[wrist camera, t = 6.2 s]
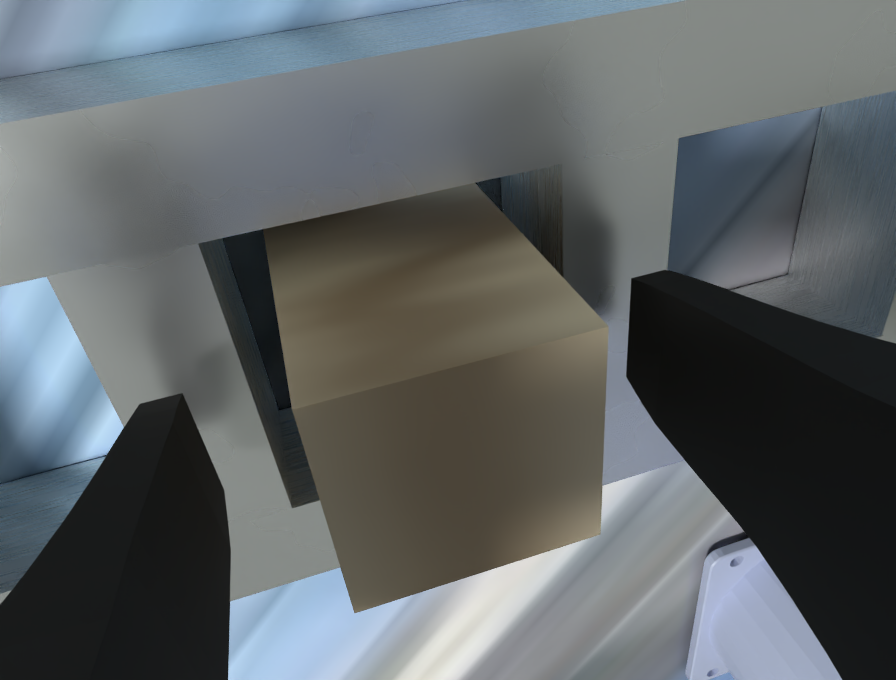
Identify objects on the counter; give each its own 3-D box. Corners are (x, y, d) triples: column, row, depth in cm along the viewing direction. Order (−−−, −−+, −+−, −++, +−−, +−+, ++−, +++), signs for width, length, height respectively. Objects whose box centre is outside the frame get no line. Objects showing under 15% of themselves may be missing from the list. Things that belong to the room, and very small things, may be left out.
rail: (974, -86, 13) (1142, -83, 11) (860, 314, 19) (955, 375, 16) (-635, 187, 9) (-947, 294, 7) (-179, 609, 14) (-258, 753, 12)
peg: (464, 171, 13) (608, 326, 9) (479, 337, 16) (600, 534, 11) (260, 213, 13) (292, 409, 8) (307, 381, 15) (354, 613, 10)
